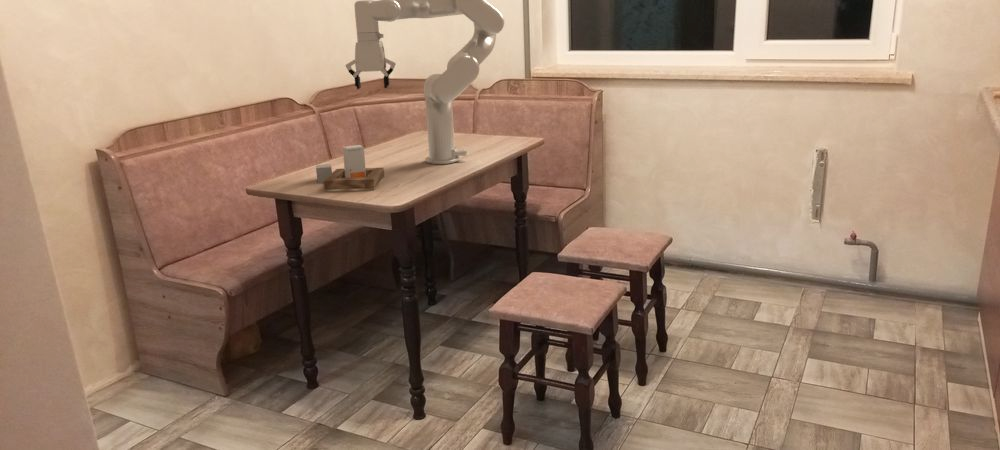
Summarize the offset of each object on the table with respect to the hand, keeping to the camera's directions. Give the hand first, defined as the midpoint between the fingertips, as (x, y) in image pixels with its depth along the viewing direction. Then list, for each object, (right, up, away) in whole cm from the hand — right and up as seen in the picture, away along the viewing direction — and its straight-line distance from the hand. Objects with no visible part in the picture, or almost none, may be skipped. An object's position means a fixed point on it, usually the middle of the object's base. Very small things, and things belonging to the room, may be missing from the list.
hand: (372, 88), depth 266 cm
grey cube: (-15, -33, -8) cm, 37 cm away
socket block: (-3, -34, -15) cm, 38 cm away
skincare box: (-3, -34, -15) cm, 37 cm away
